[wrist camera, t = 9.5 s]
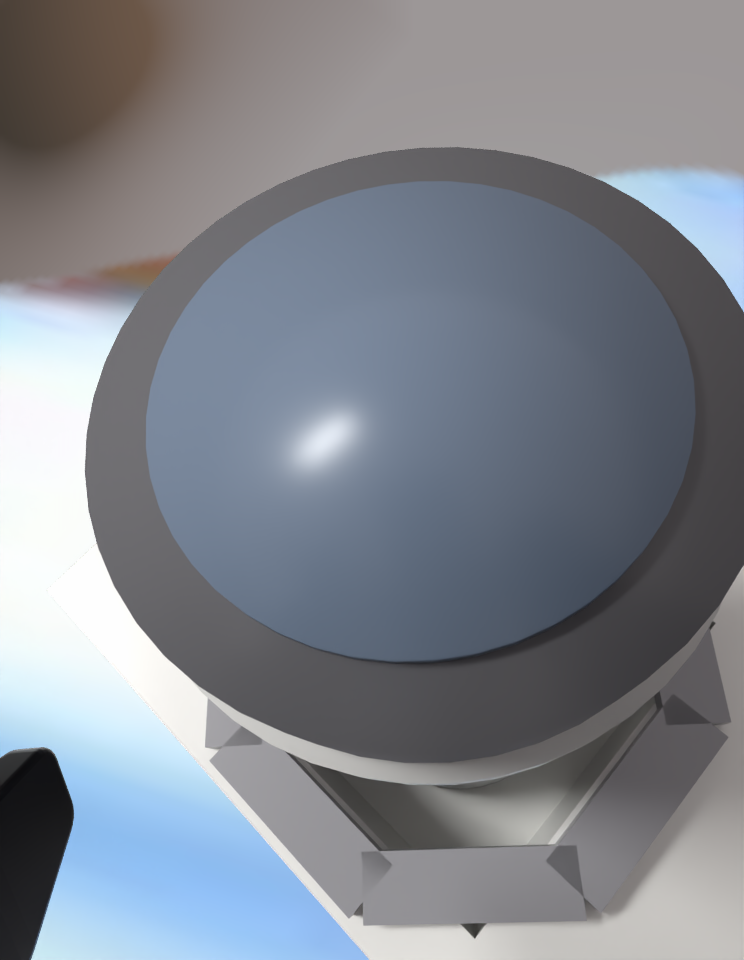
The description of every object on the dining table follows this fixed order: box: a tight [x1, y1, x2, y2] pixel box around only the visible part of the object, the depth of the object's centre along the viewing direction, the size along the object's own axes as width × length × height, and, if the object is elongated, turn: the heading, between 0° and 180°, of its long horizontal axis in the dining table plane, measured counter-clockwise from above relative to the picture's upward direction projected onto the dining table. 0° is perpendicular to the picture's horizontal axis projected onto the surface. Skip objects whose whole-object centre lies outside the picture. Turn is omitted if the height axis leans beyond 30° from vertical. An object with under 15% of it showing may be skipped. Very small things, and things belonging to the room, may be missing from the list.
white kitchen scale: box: [47, 543, 744, 960], centre depth 17 cm, size 16×11×5 cm
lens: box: [85, 147, 744, 789], centre depth 12 cm, size 6×6×14 cm
